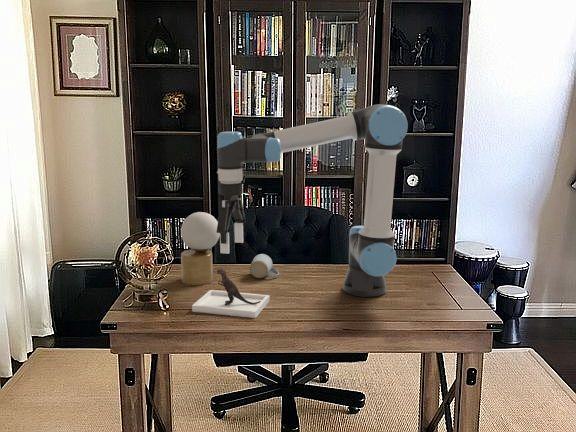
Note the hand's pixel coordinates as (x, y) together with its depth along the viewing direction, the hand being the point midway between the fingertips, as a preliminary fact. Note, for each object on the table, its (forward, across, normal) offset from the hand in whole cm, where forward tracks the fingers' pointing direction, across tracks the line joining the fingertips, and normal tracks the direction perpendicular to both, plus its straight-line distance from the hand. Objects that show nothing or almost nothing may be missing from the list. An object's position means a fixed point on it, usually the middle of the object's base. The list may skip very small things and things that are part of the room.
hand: (232, 247), depth 203 cm
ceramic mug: (+20, -34, 0) cm, 40 cm away
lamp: (+20, -24, -21) cm, 37 cm away
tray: (+20, 0, -1) cm, 20 cm away
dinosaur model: (+19, 0, +2) cm, 19 cm away
